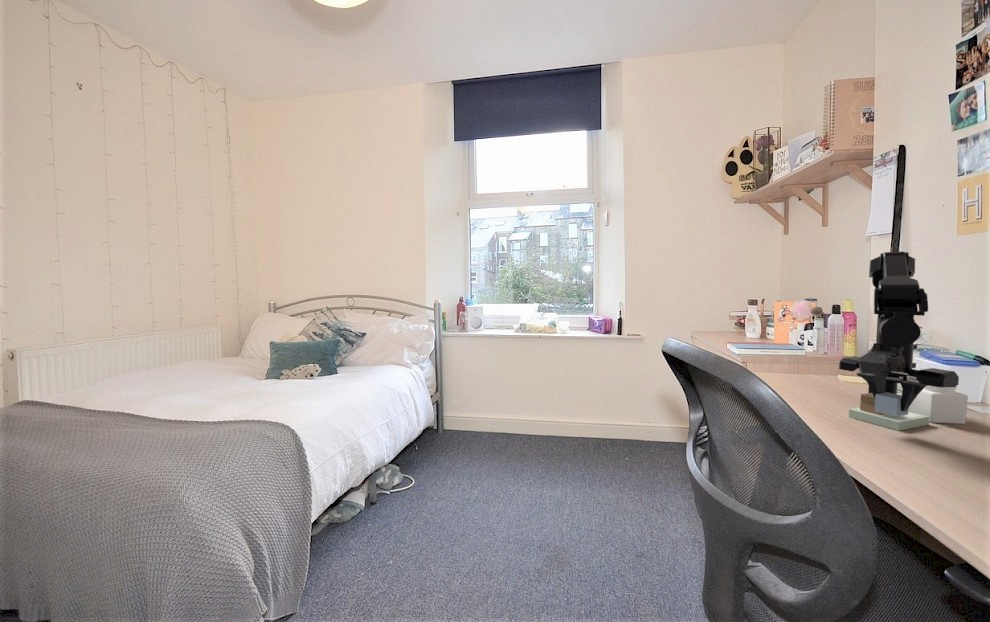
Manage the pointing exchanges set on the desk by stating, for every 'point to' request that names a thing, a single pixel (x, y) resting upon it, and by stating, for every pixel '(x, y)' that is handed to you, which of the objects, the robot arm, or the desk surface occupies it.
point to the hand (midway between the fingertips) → (891, 408)
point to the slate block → (889, 404)
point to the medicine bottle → (941, 405)
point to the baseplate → (891, 419)
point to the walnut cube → (868, 403)
